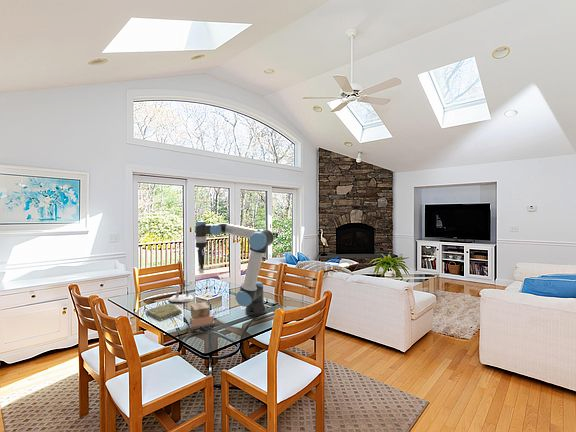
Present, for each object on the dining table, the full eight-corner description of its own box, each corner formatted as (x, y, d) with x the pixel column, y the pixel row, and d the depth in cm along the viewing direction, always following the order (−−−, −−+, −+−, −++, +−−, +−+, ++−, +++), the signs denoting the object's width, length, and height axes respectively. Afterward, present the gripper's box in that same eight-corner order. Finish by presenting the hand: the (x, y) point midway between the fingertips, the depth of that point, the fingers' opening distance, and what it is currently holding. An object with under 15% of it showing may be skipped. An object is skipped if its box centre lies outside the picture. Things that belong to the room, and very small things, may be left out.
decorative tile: (160, 321, 217) (160, 316, 217) (146, 313, 230) (146, 309, 230) (184, 313, 232) (183, 308, 232) (169, 306, 245) (169, 302, 244)
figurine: (169, 304, 246) (171, 283, 246) (167, 297, 263) (169, 278, 262) (195, 302, 255) (197, 283, 254) (192, 296, 271) (193, 277, 271)
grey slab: (206, 313, 230) (206, 305, 229) (215, 324, 211) (214, 315, 210) (184, 317, 222) (184, 308, 222) (190, 329, 203) (190, 320, 202)
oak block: (207, 315, 222) (207, 301, 221) (212, 321, 212) (212, 307, 211) (188, 319, 216) (188, 304, 215) (192, 325, 205) (191, 310, 204)
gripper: (193, 241, 234) (194, 271, 236) (197, 243, 222) (198, 275, 224) (203, 240, 237) (204, 270, 239) (208, 242, 226) (208, 274, 228)
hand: (201, 273), depth 232 cm, fingers closed
